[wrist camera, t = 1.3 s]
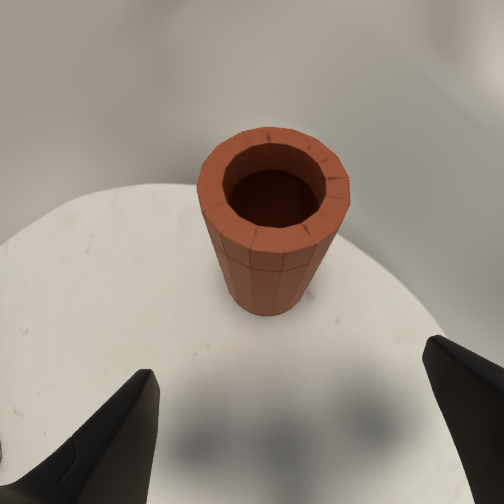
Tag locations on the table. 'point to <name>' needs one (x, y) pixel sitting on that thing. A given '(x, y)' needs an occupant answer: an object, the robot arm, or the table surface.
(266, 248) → the jar
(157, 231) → the table surface
